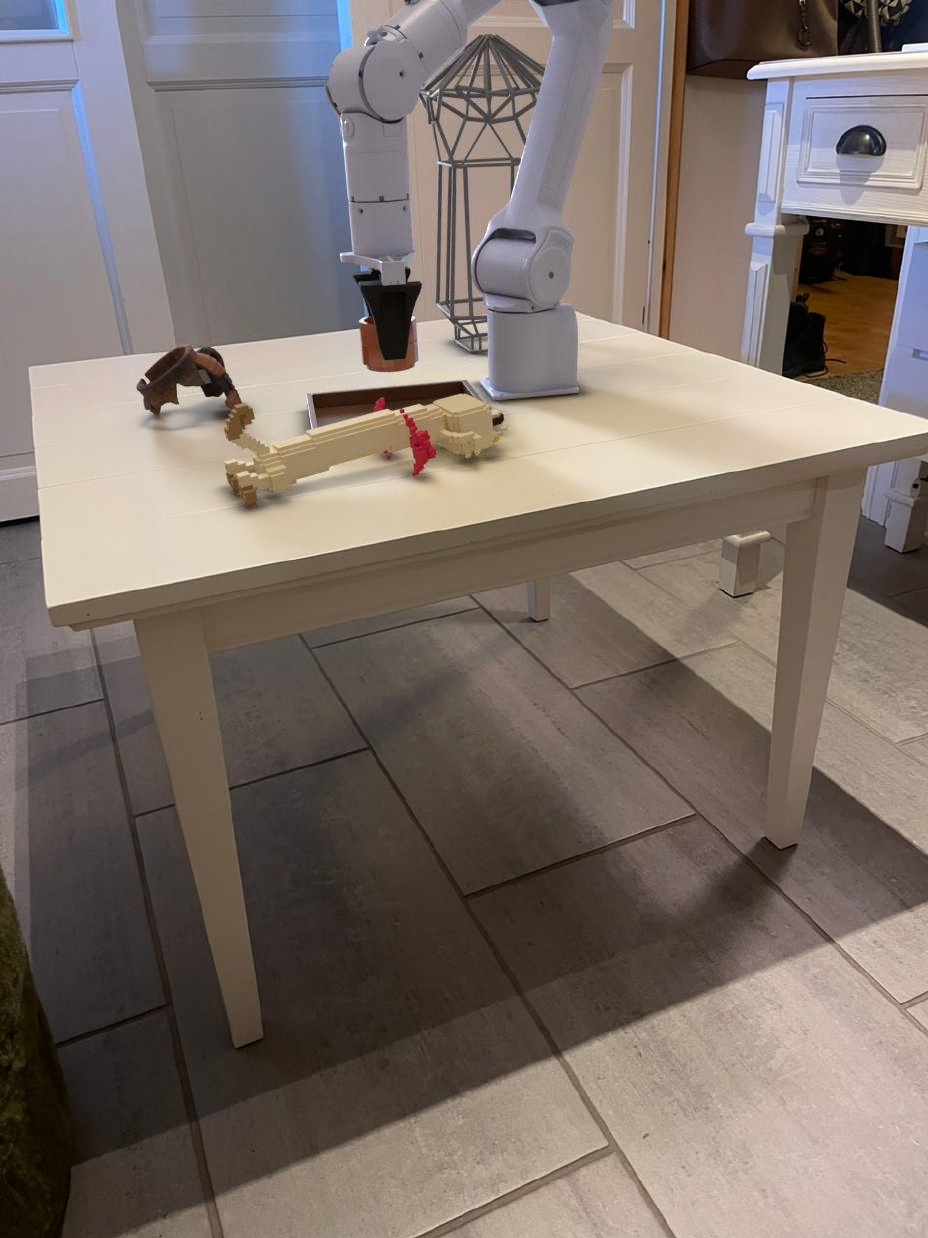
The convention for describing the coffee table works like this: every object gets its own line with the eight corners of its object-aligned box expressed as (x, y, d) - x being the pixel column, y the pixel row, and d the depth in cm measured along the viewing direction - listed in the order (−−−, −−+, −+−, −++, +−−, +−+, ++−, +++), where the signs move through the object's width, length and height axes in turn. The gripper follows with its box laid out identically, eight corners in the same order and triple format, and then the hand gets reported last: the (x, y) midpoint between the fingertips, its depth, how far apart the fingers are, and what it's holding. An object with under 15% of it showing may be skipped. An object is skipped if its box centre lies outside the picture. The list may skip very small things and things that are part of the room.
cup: (414, 357, 95) (411, 311, 93) (422, 370, 90) (419, 322, 88) (360, 362, 94) (356, 315, 92) (366, 375, 89) (362, 326, 87)
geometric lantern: (423, 338, 129) (406, 40, 112) (531, 327, 132) (531, 36, 116) (451, 363, 116) (436, 29, 99) (571, 351, 119) (576, 26, 102)
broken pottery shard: (239, 431, 96) (184, 366, 91) (170, 467, 99) (114, 407, 94) (264, 372, 104) (215, 310, 99) (200, 407, 108) (150, 349, 103)
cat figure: (259, 533, 74) (531, 450, 82) (233, 426, 69) (523, 351, 78) (226, 494, 82) (477, 423, 90) (201, 397, 77) (467, 331, 86)
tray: (467, 397, 102) (466, 379, 101) (493, 433, 90) (493, 412, 89) (308, 412, 99) (305, 393, 98) (314, 450, 88) (311, 429, 87)
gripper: (330, 196, 91) (344, 339, 97) (341, 208, 78) (356, 372, 84) (402, 192, 92) (411, 334, 98) (425, 204, 79) (433, 366, 86)
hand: (390, 351), depth 91 cm, fingers closed on cup, 5 cm apart
